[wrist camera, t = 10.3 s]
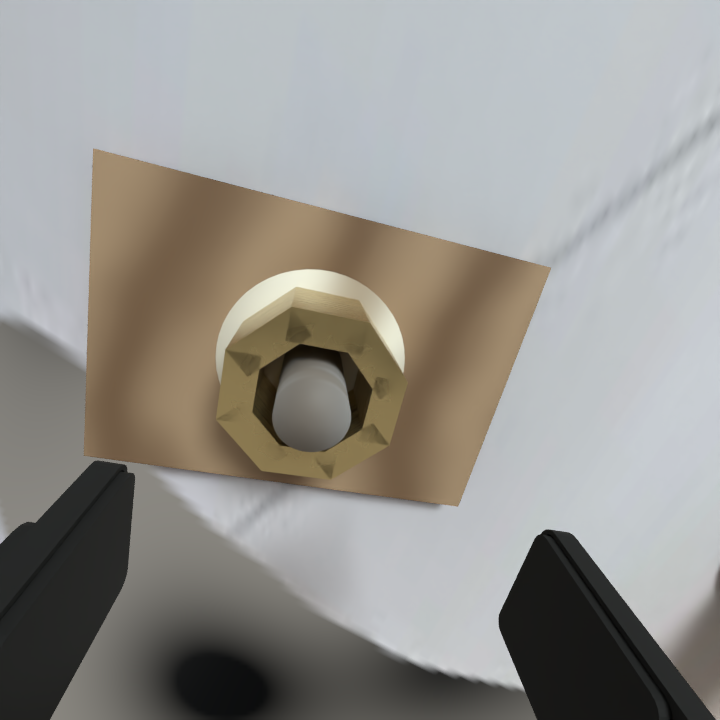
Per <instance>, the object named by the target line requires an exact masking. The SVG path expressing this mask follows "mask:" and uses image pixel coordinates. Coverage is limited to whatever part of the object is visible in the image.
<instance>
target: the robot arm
mask: <svg viewBox="0 0 720 720" xmlns="http://www.w3.org/2000/svg"><path fill="white" fill-rule="evenodd" d="M134 483H135V475H134V474H133V473H128V472H127V467H126V465H123V464H116V463H110V462H104V461H94V462H93V463H92V464H91V465H90V466H89V467H88V468H87V469H86V470H85V471H84V472H83V473H82V474H81V476H79V477H78V479H77V480H76V481H75V482H74V483H73V484H72V485H71V486H70V487H69V488H68V489H67V490H66V491H65V492H64V493H63V494H62V495H61V496H60V498H59V499H58V500H57V501H56V502H55V503H54V504H53V505H52V506H51V507H50V508H49V509H48V510H47V511H46V512H45V513H44V515H43V516H42V517H41V518H40V519H39V520H38V521H37V522H36V523H32V522H26V523H24V524H22V525H20V526H19V527H18V528H17V529H15V530H14V531H13V532H12V533H11V534H10V535H9V536H8V537H7V538H6V539H5V540H4V541H3V542H2V543H1V544H0V720H50V718H51V717H52V714H53V713H54V711H55V709H56V707H57V706H58V704H59V702H60V700H61V698H62V696H63V695H64V693H65V691H66V689H67V687H68V685H69V684H70V682H71V680H72V678H73V676H74V675H75V673H76V671H77V669H78V667H79V665H80V663H81V662H82V660H83V658H84V656H85V654H86V653H87V651H88V649H89V647H90V645H91V644H92V642H93V640H94V638H95V636H96V634H97V633H98V631H99V629H100V627H101V625H102V624H103V622H104V620H105V618H106V616H107V614H108V613H109V611H110V609H111V607H112V605H113V603H114V602H115V600H116V598H117V596H118V594H119V592H120V590H121V589H122V586H123V584H124V581H125V578H126V575H127V569H128V558H129V546H130V533H131V519H132V509H133V497H134ZM499 628H500V631H501V634H502V636H503V639H504V641H505V644H506V646H507V648H508V651H509V653H510V656H511V658H512V660H513V663H514V665H515V668H516V670H517V672H518V675H519V677H520V680H521V682H522V684H523V687H524V689H525V692H526V694H527V696H528V699H529V701H530V704H531V706H532V708H533V711H534V713H535V716H536V718H537V720H716V719H715V718H714V717H713V715H712V714H711V713H710V712H709V710H708V709H707V708H706V706H705V705H704V704H703V702H702V701H701V700H700V699H699V697H698V696H697V695H696V693H695V692H694V691H693V689H692V688H691V687H690V686H689V684H688V683H687V682H686V680H685V679H684V678H683V676H682V675H681V674H680V673H679V671H678V670H677V669H676V667H675V666H674V665H673V664H672V662H671V661H670V660H669V658H668V657H667V656H666V654H665V653H664V652H663V651H662V649H661V648H660V647H659V645H658V644H657V643H656V641H655V640H654V639H653V638H652V636H651V635H650V634H649V632H648V631H647V630H646V628H645V627H644V626H643V625H642V623H641V622H640V621H639V619H638V618H637V617H636V615H635V614H634V613H633V612H632V610H631V609H630V608H629V606H628V605H627V604H626V603H625V601H624V600H623V599H622V597H621V596H620V595H619V593H618V592H617V591H616V590H615V588H614V587H613V586H612V584H611V583H610V582H609V580H608V579H607V578H606V577H605V575H604V574H603V573H602V571H601V570H600V569H599V567H598V566H597V565H596V564H595V562H594V561H593V560H592V558H591V557H590V556H589V554H588V553H587V552H586V551H585V549H584V548H583V547H582V545H581V544H580V543H579V541H578V540H577V539H576V538H575V537H574V536H573V535H572V534H571V533H568V532H562V531H555V530H545V531H543V532H542V533H541V535H538V536H536V538H535V539H534V542H533V544H532V546H531V548H530V550H529V552H528V554H527V556H526V559H525V561H524V563H523V565H522V567H521V569H520V571H519V573H518V575H517V578H516V580H515V582H514V584H513V586H512V588H511V590H510V592H509V595H508V597H507V599H506V601H505V603H504V605H503V607H502V609H501V612H500V614H499Z"/></svg>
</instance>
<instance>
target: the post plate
mask: <svg viewBox="0 0 720 720" xmlns="http://www.w3.org/2000/svg"><path fill="white" fill-rule="evenodd" d="M550 270H551V268H550V267H546V266H542V265H538V264H534V263H530V262H527V261H523V260H519V259H515V258H511V257H507V256H504V255H500V254H496V253H492V252H488V251H484V250H481V249H477V248H473V247H469V246H465V245H461V244H458V243H454V242H450V241H446V240H442V239H438V238H435V237H431V236H427V235H423V234H419V233H415V232H412V231H408V230H404V229H400V228H396V227H392V226H389V225H385V224H381V223H377V222H373V221H369V220H366V219H362V218H358V217H354V216H350V215H346V214H343V213H339V212H335V211H331V210H327V209H323V208H320V207H316V206H312V205H308V204H304V203H300V202H297V201H293V200H289V199H285V198H281V197H277V196H274V195H270V194H266V193H262V192H258V191H254V190H251V189H247V188H243V187H239V186H235V185H231V184H228V183H224V182H220V181H216V180H212V179H208V178H205V177H201V176H197V175H193V174H189V173H185V172H182V171H178V170H174V169H170V168H166V167H162V166H159V165H155V164H151V163H147V162H143V161H139V160H136V159H132V158H128V157H124V156H120V155H116V154H113V153H109V152H105V151H101V150H97V149H93V173H92V206H91V239H90V272H89V305H88V338H87V371H86V407H85V437H84V456H90V457H97V458H105V459H112V460H120V461H127V462H134V463H142V464H149V465H156V466H164V467H171V468H178V469H186V470H193V471H201V472H208V473H215V474H223V475H230V476H237V477H245V478H252V479H259V480H267V481H274V482H282V483H289V484H296V485H304V486H311V487H318V488H326V489H333V490H340V491H348V492H355V493H362V494H370V495H377V496H385V497H392V498H399V499H407V500H414V501H421V502H429V503H436V504H443V505H451V506H458V505H459V503H460V500H461V498H462V495H463V493H464V490H465V487H466V485H467V482H468V480H469V477H470V475H471V472H472V470H473V467H474V464H475V462H476V459H477V457H478V454H479V452H480V449H481V446H482V444H483V441H484V439H485V436H486V434H487V431H488V429H489V426H490V423H491V421H492V418H493V416H494V413H495V411H496V408H497V405H498V403H499V400H500V398H501V395H502V393H503V390H504V388H505V385H506V382H507V380H508V377H509V375H510V372H511V370H512V367H513V364H514V362H515V359H516V357H517V354H518V352H519V349H520V347H521V344H522V341H523V339H524V336H525V334H526V331H527V329H528V326H529V323H530V321H531V318H532V316H533V313H534V311H535V308H536V306H537V303H538V300H539V298H540V295H541V293H542V290H543V288H544V285H545V282H546V280H547V277H548V275H549V272H550ZM295 287H301V288H305V289H310V290H315V291H319V292H324V293H329V294H333V295H338V296H343V297H347V298H352V299H357V300H359V301H360V302H361V304H362V306H363V307H364V309H365V310H366V312H367V314H368V315H369V317H370V318H371V320H372V321H373V323H374V325H375V326H376V328H377V329H378V331H379V333H380V334H381V336H382V337H383V339H384V341H385V342H386V344H387V345H388V347H389V348H390V350H391V352H392V354H393V356H394V357H395V359H396V361H397V363H398V365H399V367H400V369H401V370H402V372H403V374H404V376H405V378H406V380H407V382H408V384H407V388H406V391H405V394H404V398H403V401H402V404H401V408H400V411H399V415H398V418H397V421H396V425H395V428H394V432H393V435H392V438H391V442H390V445H389V446H388V447H386V448H384V449H383V450H381V451H379V452H378V453H376V454H374V455H372V456H371V457H369V458H367V459H366V460H364V461H362V462H361V463H359V464H357V465H355V466H354V467H352V468H350V469H349V470H347V471H345V472H344V473H342V474H340V475H338V476H337V477H335V478H333V479H332V480H327V479H319V478H312V477H304V476H297V475H289V474H281V473H274V472H266V471H261V470H260V469H259V468H258V466H257V465H256V464H255V463H254V462H253V461H252V460H251V458H250V457H249V456H248V455H247V454H246V453H245V452H244V451H243V449H242V448H241V447H240V446H239V445H238V444H237V443H236V442H235V440H234V439H233V438H232V437H231V436H230V435H229V434H228V433H227V431H226V430H225V429H224V428H223V427H222V426H221V425H220V424H219V422H218V421H217V420H216V415H217V407H218V400H219V392H220V385H221V377H222V370H223V363H224V355H225V349H226V348H227V346H228V344H229V343H230V341H231V340H232V338H233V336H234V335H235V333H236V332H237V330H238V328H239V327H240V325H241V324H242V322H243V321H244V320H246V319H247V318H249V317H250V316H252V315H253V314H255V313H256V312H258V311H259V310H261V309H263V308H264V307H266V306H267V305H269V304H270V303H272V302H273V301H275V300H276V299H278V298H279V297H281V296H283V295H284V294H286V293H287V292H289V291H290V290H292V289H293V288H295ZM357 372H358V367H357V365H356V364H355V362H354V361H353V359H352V358H351V356H350V355H349V353H347V352H342V351H336V350H331V349H326V348H320V347H315V346H310V345H305V344H299V345H297V346H295V347H294V348H292V349H291V350H289V351H288V352H286V353H284V354H283V355H281V356H280V357H278V358H276V359H275V360H273V361H272V362H270V363H269V364H267V365H265V370H264V374H265V375H266V377H267V378H268V379H269V380H270V382H271V383H272V384H273V385H274V387H275V388H276V389H277V393H276V398H275V403H274V408H273V414H272V422H273V427H274V430H275V432H276V434H277V435H278V437H279V438H280V439H281V440H282V441H283V442H284V443H285V444H286V445H288V446H290V447H291V448H294V449H296V450H299V451H304V452H319V451H323V450H326V449H329V448H331V447H333V446H334V445H336V444H337V443H338V442H340V441H341V440H342V439H343V437H344V436H345V435H346V433H347V431H348V429H349V426H350V423H351V410H350V405H349V399H348V394H347V392H349V391H351V390H352V389H353V388H354V384H355V380H356V376H357Z"/></svg>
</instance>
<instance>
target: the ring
mask: <svg viewBox="0 0 720 720" xmlns="http://www.w3.org/2000/svg"><path fill="white" fill-rule="evenodd" d="M299 344H305V345H310V346H315V347H320V348H326V349H331V350H336V351H342V352H347V353H349V355H350V356H351V358H352V359H353V361H354V362H355V364H356V365H357V367H358V372H357V376H356V380H355V384H354V388H353V389H352V390H351V391H349V392H347V394H348V399H349V405H350V410H351V423H350V426H349V429H348V431H347V433H346V435H345V436H344V437H343V439H342V440H341V441H340V442H338V443H337V444H336V445H334V446H333V447H331V448H329V449H326V450H323V451H319V452H304V451H299V450H296V449H294V448H291V447H290V446H288V445H286V444H285V443H284V442H283V441H282V440H281V439H280V438H279V437H278V435H277V434H276V432H275V430H274V427H273V422H272V414H273V408H274V403H275V398H276V393H277V389H276V388H275V387H274V385H273V384H272V383H271V382H270V380H269V379H268V378H267V377H266V375H265V374H264V370H265V365H267V364H269V363H270V362H272V361H273V360H275V359H276V358H278V357H280V356H281V355H283V354H284V353H286V352H288V351H289V350H291V349H292V348H294V347H295V346H297V345H299ZM407 384H408V382H407V380H406V378H405V376H404V374H403V372H402V370H401V369H400V367H399V365H398V363H397V361H396V359H395V357H394V356H393V354H392V352H391V350H390V348H389V347H388V345H387V344H386V342H385V341H384V339H383V337H382V336H381V334H380V333H379V331H378V329H377V328H376V326H375V325H374V323H373V321H372V320H371V318H370V317H369V315H368V314H367V312H366V310H365V309H364V307H363V306H362V304H361V302H360V301H359V300H357V299H352V298H347V297H343V296H338V295H333V294H329V293H324V292H319V291H315V290H310V289H305V288H301V287H295V288H293V289H292V290H290V291H289V292H287V293H286V294H284V295H283V296H281V297H279V298H278V299H276V300H275V301H273V302H272V303H270V304H269V305H267V306H266V307H264V308H263V309H261V310H259V311H258V312H256V313H255V314H253V315H252V316H250V317H249V318H247V319H246V320H244V321H243V322H242V324H241V325H240V327H239V328H238V330H237V332H236V333H235V335H234V336H233V338H232V340H231V341H230V343H229V344H228V346H227V348H226V349H225V355H224V363H223V370H222V377H221V385H220V392H219V400H218V407H217V415H216V420H217V421H218V422H219V424H220V425H221V426H222V427H223V428H224V429H225V430H226V431H227V433H228V434H229V435H230V436H231V437H232V438H233V439H234V440H235V442H236V443H237V444H238V445H239V446H240V447H241V448H242V449H243V451H244V452H245V453H246V454H247V455H248V456H249V457H250V458H251V460H252V461H253V462H254V463H255V464H256V465H257V466H258V468H259V469H260V470H261V471H266V472H274V473H281V474H289V475H297V476H304V477H312V478H319V479H327V480H332V479H333V478H335V477H337V476H338V475H340V474H342V473H344V472H345V471H347V470H349V469H350V468H352V467H354V466H355V465H357V464H359V463H361V462H362V461H364V460H366V459H367V458H369V457H371V456H372V455H374V454H376V453H378V452H379V451H381V450H383V449H384V448H386V447H388V446H389V445H390V442H391V438H392V435H393V432H394V428H395V425H396V421H397V418H398V415H399V411H400V408H401V404H402V401H403V398H404V394H405V391H406V388H407Z"/></svg>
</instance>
